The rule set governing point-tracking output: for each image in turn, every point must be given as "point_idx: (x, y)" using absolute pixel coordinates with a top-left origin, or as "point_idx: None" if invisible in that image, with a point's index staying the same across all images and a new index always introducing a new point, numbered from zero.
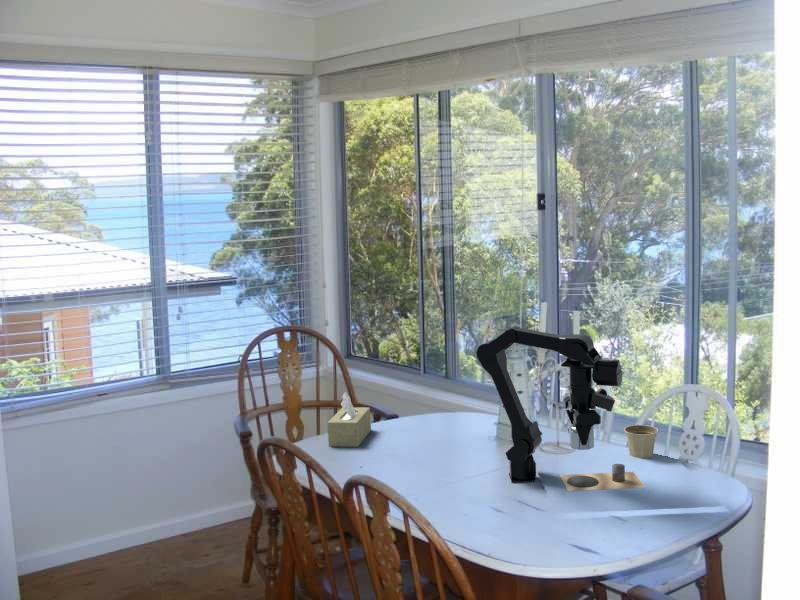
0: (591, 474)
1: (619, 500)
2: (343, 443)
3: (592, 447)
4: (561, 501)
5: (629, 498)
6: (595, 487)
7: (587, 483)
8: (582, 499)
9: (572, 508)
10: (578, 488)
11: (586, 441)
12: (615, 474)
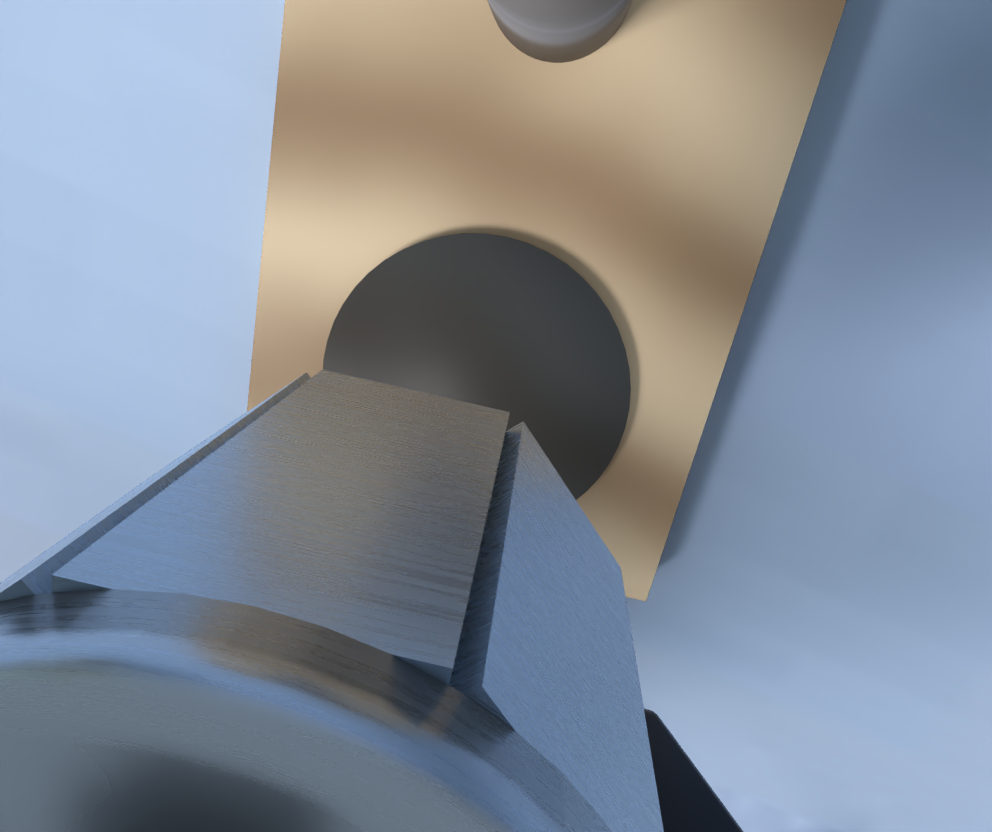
0: (293, 210)
1: (971, 206)
2: None
3: (547, 463)
4: (738, 670)
5: (980, 72)
6: (665, 339)
7: (559, 380)
8: (775, 512)
9: (916, 659)
10: (625, 497)
11: (701, 798)
12: (607, 27)
